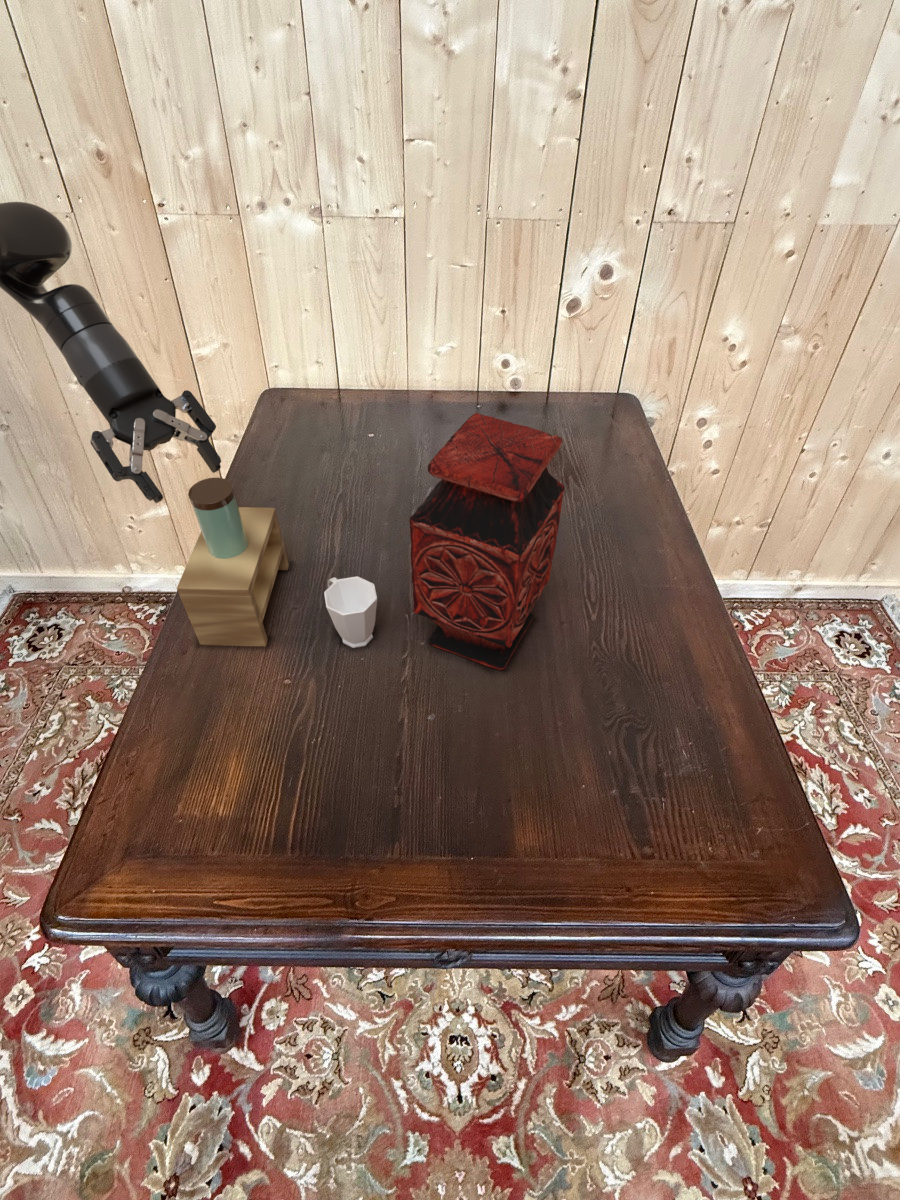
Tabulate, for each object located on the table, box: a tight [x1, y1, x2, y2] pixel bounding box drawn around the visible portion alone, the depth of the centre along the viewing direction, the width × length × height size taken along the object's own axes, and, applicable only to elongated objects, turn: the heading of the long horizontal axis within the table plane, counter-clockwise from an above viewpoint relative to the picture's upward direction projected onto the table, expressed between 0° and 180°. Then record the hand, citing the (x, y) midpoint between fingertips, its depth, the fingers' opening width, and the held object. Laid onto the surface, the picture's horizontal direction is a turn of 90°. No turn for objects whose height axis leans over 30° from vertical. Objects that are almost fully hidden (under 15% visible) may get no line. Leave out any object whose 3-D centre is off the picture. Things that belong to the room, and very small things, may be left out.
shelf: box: [176, 506, 290, 647], centre depth 95 cm, size 16×9×11 cm, turn 178°
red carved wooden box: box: [408, 412, 565, 671], centre depth 84 cm, size 14×14×30 cm
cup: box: [323, 575, 378, 649], centre depth 92 cm, size 7×10×8 cm
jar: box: [187, 477, 248, 559], centre depth 88 cm, size 5×5×9 cm
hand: (189, 484), depth 89 cm, fingers open, 8 cm apart
